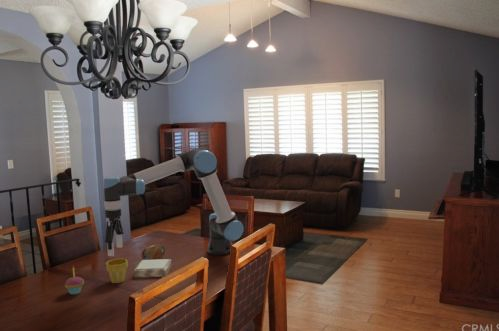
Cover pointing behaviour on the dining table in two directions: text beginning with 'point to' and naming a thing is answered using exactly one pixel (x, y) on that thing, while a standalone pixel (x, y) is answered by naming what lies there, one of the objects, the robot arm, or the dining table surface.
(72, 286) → the cupcake
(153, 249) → the tin
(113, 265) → the plant pot
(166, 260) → the plinth
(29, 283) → the dining table surface
